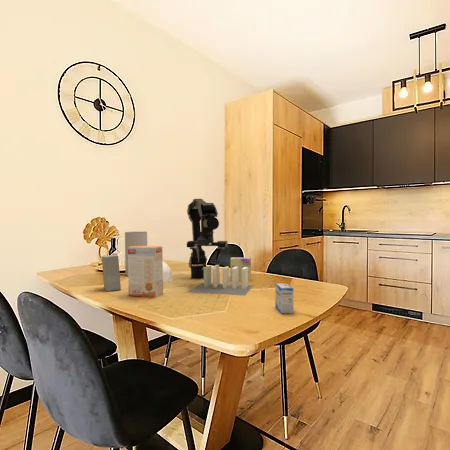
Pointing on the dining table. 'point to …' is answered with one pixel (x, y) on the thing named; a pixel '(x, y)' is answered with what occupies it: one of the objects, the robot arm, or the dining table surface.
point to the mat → (221, 289)
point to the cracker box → (145, 271)
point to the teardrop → (166, 273)
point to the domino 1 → (207, 276)
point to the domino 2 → (216, 276)
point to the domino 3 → (225, 276)
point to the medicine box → (284, 298)
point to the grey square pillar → (133, 243)
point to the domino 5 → (244, 277)
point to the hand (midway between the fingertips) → (207, 262)
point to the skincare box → (111, 272)
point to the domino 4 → (235, 278)
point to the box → (240, 266)
